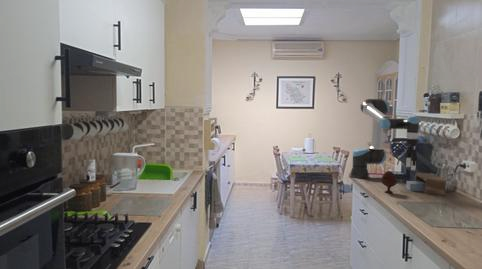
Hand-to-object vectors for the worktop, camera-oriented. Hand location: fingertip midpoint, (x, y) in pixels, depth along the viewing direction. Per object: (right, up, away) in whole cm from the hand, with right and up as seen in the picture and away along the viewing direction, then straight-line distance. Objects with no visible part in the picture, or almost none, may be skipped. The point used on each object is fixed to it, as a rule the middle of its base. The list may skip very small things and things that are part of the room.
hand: (410, 168), depth 265 cm
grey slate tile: (+7, -15, 0) cm, 17 cm away
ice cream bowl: (-20, -16, -11) cm, 28 cm away
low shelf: (+11, -15, -1) cm, 19 cm away
